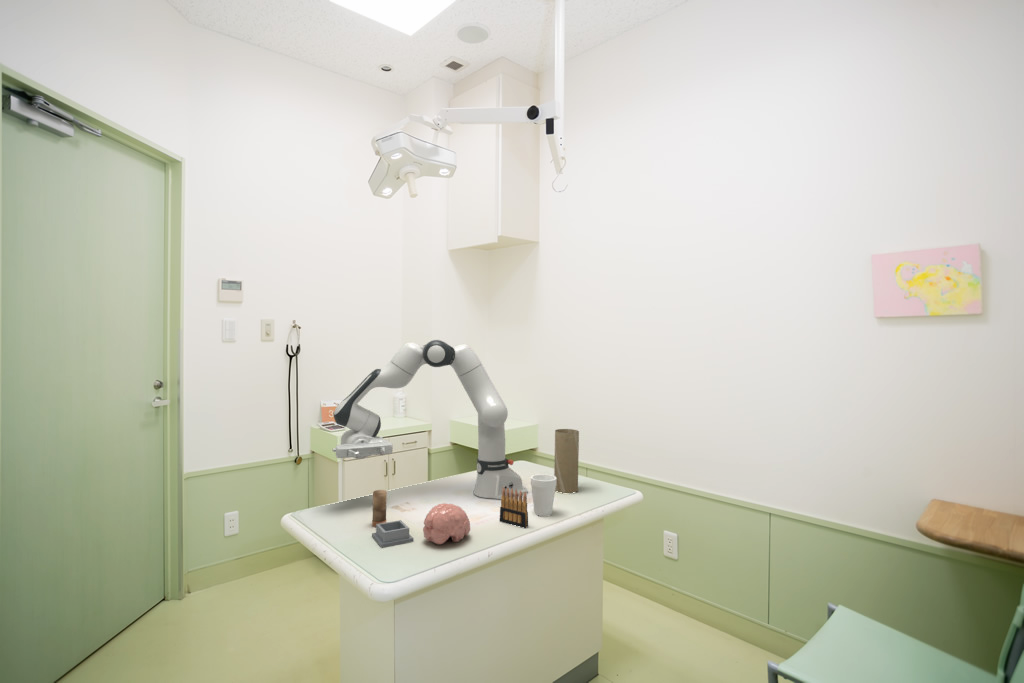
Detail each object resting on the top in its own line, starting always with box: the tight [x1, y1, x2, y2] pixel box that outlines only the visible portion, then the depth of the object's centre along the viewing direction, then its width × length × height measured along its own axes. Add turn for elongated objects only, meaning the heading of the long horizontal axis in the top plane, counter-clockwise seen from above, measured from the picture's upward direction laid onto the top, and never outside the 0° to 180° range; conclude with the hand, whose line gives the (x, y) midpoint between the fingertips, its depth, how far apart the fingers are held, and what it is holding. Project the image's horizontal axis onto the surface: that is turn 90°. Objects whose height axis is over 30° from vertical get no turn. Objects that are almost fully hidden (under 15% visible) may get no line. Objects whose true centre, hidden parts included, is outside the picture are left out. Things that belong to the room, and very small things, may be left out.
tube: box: [553, 428, 580, 494], centre depth 212 cm, size 10×10×25 cm
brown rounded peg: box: [371, 489, 388, 528], centre depth 168 cm, size 5×5×11 cm
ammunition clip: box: [499, 487, 529, 529], centre depth 171 cm, size 11×2×12 cm, turn 56°
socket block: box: [371, 519, 414, 549], centre depth 156 cm, size 10×10×4 cm
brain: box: [422, 503, 471, 545], centre depth 157 cm, size 16×13×12 cm
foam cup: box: [530, 473, 556, 517], centre depth 182 cm, size 10×9×13 cm
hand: (369, 453), depth 179 cm, fingers open, 8 cm apart
